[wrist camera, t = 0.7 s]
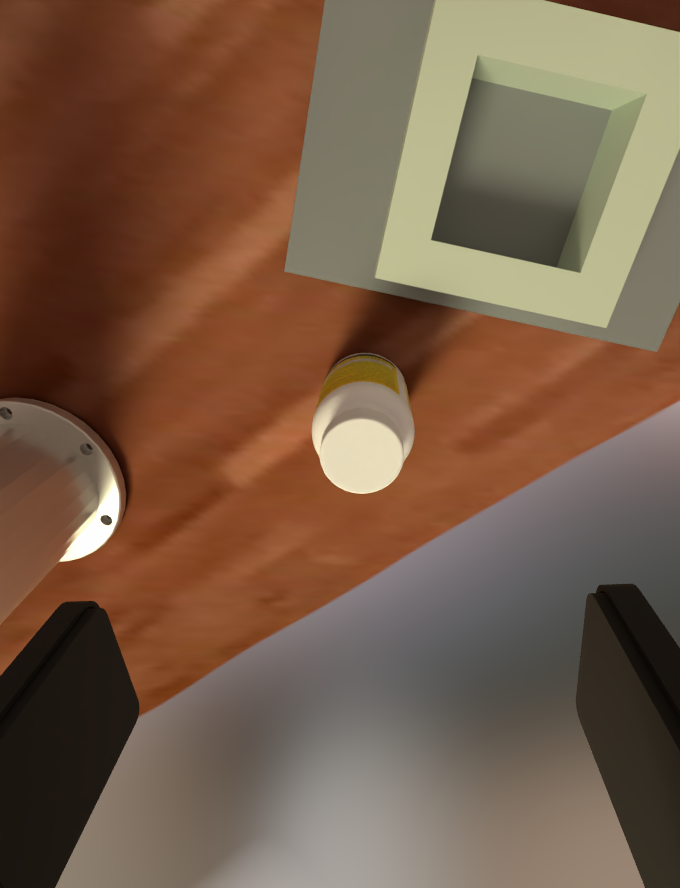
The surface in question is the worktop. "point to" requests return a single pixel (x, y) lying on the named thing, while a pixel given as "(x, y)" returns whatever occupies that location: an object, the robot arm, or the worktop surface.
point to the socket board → (496, 163)
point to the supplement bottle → (363, 423)
